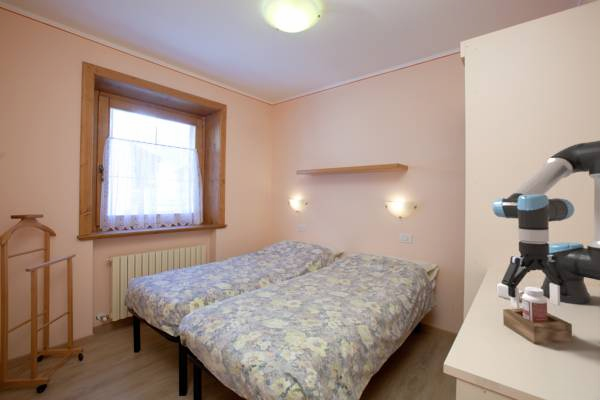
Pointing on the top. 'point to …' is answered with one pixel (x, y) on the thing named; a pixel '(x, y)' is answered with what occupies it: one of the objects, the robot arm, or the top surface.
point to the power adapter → (505, 291)
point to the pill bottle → (534, 305)
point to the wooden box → (538, 327)
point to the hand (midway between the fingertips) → (534, 305)
